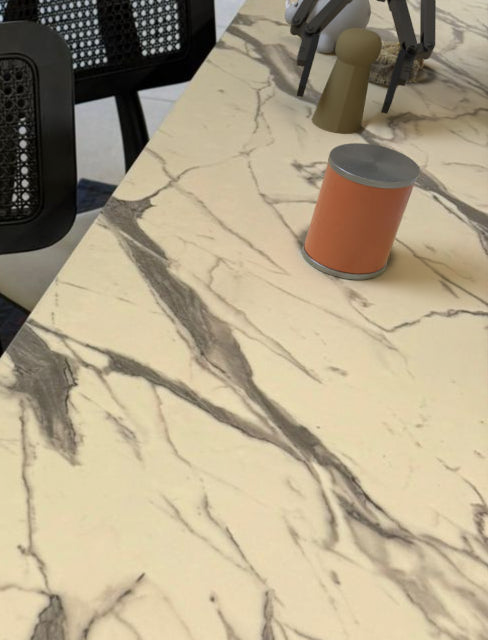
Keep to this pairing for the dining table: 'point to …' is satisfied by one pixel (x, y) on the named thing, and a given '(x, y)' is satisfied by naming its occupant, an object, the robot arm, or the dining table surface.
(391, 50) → the cake
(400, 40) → the robot arm
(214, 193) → the dining table surface
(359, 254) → the tin can
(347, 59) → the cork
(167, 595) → the dining table surface
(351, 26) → the round bodied animal figurine
